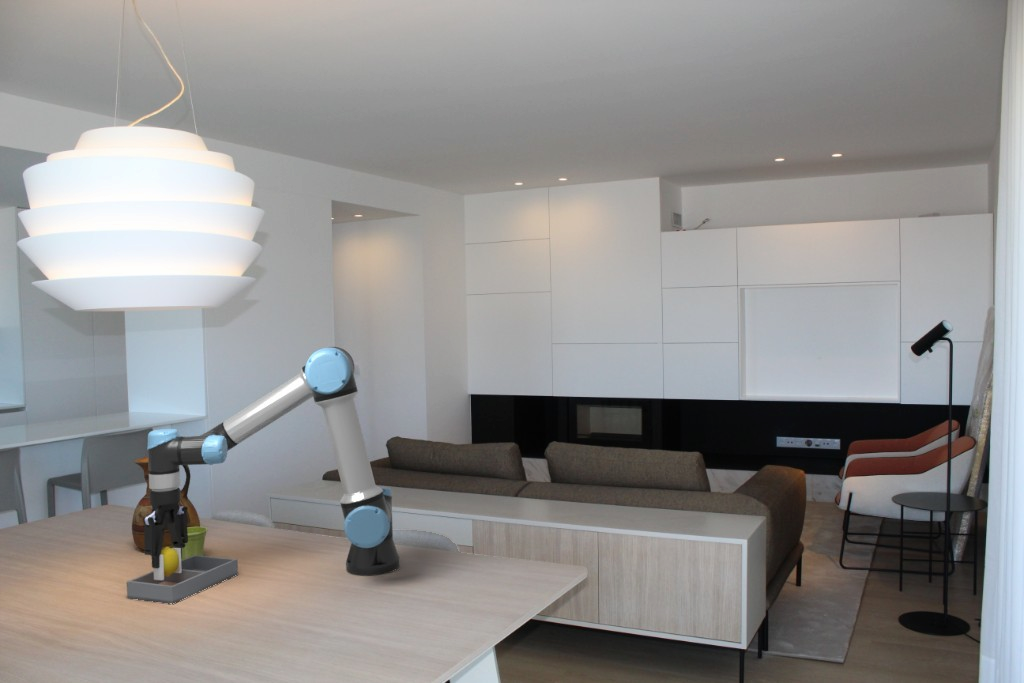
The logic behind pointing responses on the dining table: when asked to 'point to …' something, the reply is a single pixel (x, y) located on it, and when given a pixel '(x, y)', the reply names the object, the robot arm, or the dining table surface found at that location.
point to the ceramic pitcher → (146, 508)
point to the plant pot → (194, 542)
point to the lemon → (170, 560)
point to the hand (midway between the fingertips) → (167, 575)
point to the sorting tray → (183, 579)
